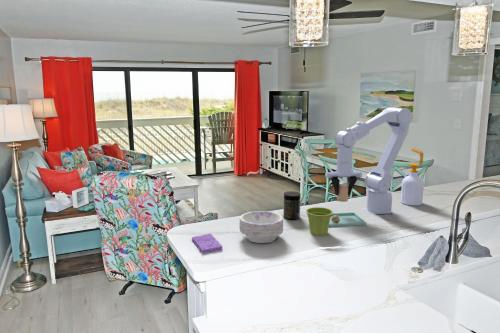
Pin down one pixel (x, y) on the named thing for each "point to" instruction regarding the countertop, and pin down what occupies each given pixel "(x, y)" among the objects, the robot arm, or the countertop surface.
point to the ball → (335, 219)
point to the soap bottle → (413, 185)
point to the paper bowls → (261, 226)
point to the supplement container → (291, 205)
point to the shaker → (343, 191)
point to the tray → (347, 219)
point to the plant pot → (319, 220)
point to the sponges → (207, 243)
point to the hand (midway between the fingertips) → (342, 194)
